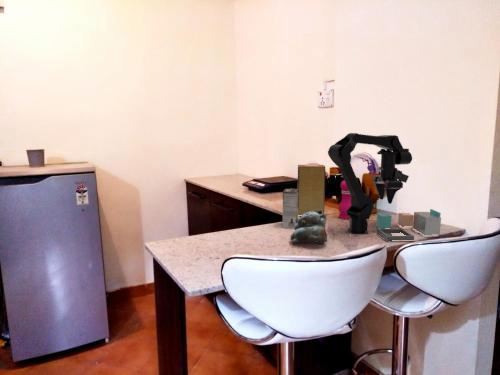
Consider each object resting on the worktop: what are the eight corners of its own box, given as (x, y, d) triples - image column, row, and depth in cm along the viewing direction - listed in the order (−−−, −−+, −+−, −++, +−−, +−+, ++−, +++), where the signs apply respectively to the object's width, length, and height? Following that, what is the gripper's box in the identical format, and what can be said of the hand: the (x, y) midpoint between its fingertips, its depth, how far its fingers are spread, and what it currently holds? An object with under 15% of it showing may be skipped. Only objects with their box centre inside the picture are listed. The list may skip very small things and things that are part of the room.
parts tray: (386, 241, 139) (387, 236, 139) (376, 234, 149) (377, 228, 149) (413, 241, 139) (414, 236, 139) (401, 233, 149) (402, 228, 149)
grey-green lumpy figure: (283, 243, 138) (285, 208, 143) (302, 248, 146) (303, 215, 150) (315, 239, 128) (316, 202, 132) (334, 246, 135) (335, 210, 140)
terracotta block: (402, 228, 157) (403, 215, 156) (397, 226, 161) (398, 212, 160) (412, 228, 157) (413, 215, 156) (407, 225, 162) (408, 212, 161)
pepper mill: (353, 216, 179) (355, 176, 176) (353, 220, 172) (355, 178, 169) (338, 215, 181) (339, 175, 178) (337, 219, 174) (339, 177, 171)
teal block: (380, 229, 156) (381, 216, 155) (376, 226, 160) (377, 213, 159) (390, 229, 156) (391, 216, 155) (386, 226, 160) (387, 213, 159)
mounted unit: (424, 237, 144) (426, 214, 143) (412, 230, 154) (414, 208, 153) (440, 237, 145) (442, 213, 143) (427, 230, 154) (429, 208, 153)
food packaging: (322, 212, 187) (324, 164, 183) (324, 217, 178) (326, 166, 174) (296, 212, 188) (297, 164, 184) (297, 216, 179) (298, 166, 175)
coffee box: (284, 222, 168) (284, 188, 165) (298, 223, 167) (299, 188, 164) (282, 227, 159) (282, 191, 157) (296, 228, 158) (297, 192, 155)
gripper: (417, 167, 144) (414, 206, 147) (397, 163, 163) (395, 197, 165) (389, 167, 144) (386, 205, 147) (373, 163, 163) (371, 197, 165)
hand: (385, 201), depth 156 cm, fingers open, 9 cm apart
